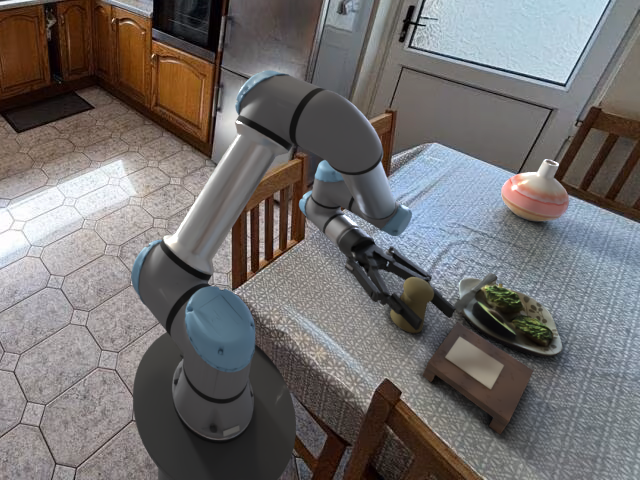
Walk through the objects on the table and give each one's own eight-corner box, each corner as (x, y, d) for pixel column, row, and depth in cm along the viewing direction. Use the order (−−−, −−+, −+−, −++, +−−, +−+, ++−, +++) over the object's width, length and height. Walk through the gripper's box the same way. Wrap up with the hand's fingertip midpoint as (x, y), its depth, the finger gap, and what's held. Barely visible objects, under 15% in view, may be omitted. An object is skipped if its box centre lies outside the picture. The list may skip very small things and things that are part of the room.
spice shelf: (421, 375, 79) (428, 361, 77) (451, 334, 86) (457, 321, 84) (500, 434, 70) (509, 421, 68) (525, 383, 77) (534, 369, 75)
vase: (570, 235, 110) (601, 182, 103) (508, 224, 114) (534, 172, 107) (541, 203, 122) (567, 153, 114) (486, 194, 126) (508, 145, 118)
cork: (394, 328, 87) (408, 292, 82) (387, 304, 92) (400, 269, 88) (426, 336, 86) (443, 300, 81) (417, 311, 91) (432, 275, 86)
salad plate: (448, 264, 102) (454, 250, 100) (544, 297, 93) (553, 283, 91) (451, 325, 88) (458, 310, 86) (566, 372, 79) (576, 356, 77)
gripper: (379, 240, 106) (468, 317, 86) (312, 259, 101) (389, 346, 81) (387, 218, 103) (480, 292, 83) (317, 236, 98) (399, 320, 78)
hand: (435, 319), depth 82 cm, fingers open, 8 cm apart
